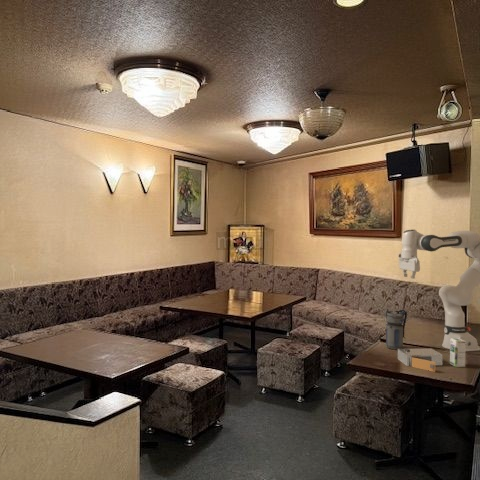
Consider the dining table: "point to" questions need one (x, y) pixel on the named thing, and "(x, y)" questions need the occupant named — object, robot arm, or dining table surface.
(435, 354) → the grey box
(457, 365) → the syrup box
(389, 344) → the beverage bottle
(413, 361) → the side door
